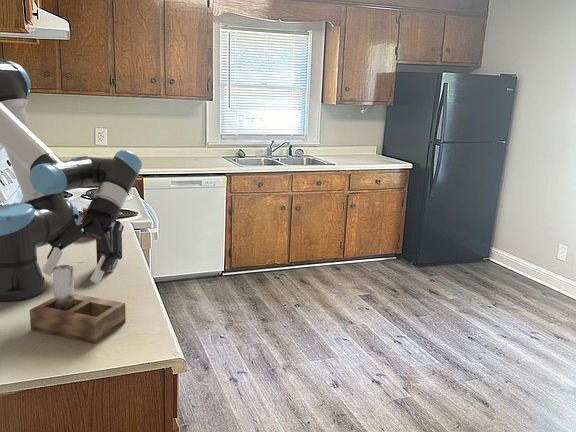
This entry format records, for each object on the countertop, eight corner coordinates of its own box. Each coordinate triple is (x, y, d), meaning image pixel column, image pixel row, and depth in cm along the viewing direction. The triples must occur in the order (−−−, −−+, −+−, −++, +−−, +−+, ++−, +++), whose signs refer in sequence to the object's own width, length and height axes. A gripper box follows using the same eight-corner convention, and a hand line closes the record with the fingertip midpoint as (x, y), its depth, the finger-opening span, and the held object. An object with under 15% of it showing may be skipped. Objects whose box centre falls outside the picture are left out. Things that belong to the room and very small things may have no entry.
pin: (51, 321, 125) (48, 269, 121) (64, 313, 129) (61, 264, 126) (67, 324, 123) (64, 272, 120) (79, 317, 127) (77, 266, 124)
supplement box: (103, 263, 168) (101, 215, 165) (118, 263, 169) (117, 216, 165) (96, 272, 160) (94, 222, 156) (112, 272, 161) (111, 222, 157)
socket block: (30, 329, 122) (29, 310, 121) (65, 310, 133) (64, 291, 132) (95, 343, 117) (94, 322, 116) (125, 322, 128) (125, 303, 127)
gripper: (155, 217, 134) (121, 293, 124) (74, 205, 141) (36, 275, 131) (143, 202, 128) (107, 279, 118) (59, 190, 135) (18, 262, 125)
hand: (69, 277), depth 124 cm, fingers open, 13 cm apart
